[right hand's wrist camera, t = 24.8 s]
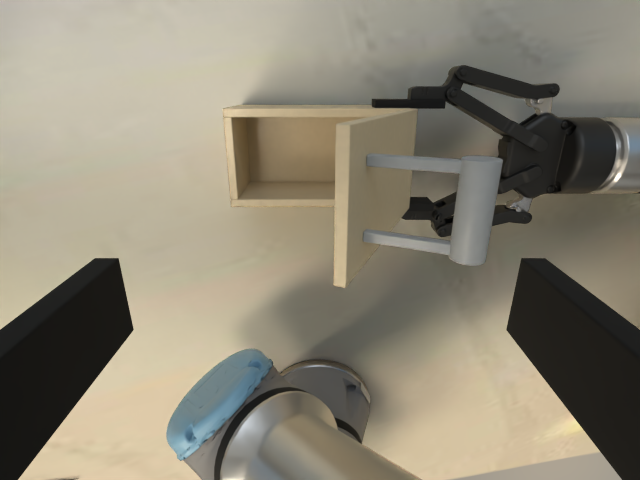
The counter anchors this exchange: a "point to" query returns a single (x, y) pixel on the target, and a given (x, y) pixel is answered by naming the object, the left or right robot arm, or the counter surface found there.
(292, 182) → the chest
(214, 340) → the counter surface
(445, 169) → the lid
